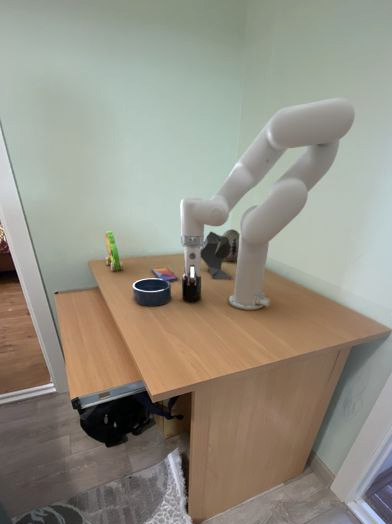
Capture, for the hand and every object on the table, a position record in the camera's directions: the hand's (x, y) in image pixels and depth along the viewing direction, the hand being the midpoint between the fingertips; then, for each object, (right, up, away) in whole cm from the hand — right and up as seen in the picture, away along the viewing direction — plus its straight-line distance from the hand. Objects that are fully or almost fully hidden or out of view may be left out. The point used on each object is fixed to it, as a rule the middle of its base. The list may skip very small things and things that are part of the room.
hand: (191, 291), depth 106 cm
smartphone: (-12, +11, +23) cm, 28 cm away
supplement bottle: (0, -3, +2) cm, 3 cm away
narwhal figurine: (+10, +13, +27) cm, 32 cm away
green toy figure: (-36, +17, +31) cm, 51 cm away
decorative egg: (+18, +24, +44) cm, 53 cm away
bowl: (-14, -3, +1) cm, 14 cm away
